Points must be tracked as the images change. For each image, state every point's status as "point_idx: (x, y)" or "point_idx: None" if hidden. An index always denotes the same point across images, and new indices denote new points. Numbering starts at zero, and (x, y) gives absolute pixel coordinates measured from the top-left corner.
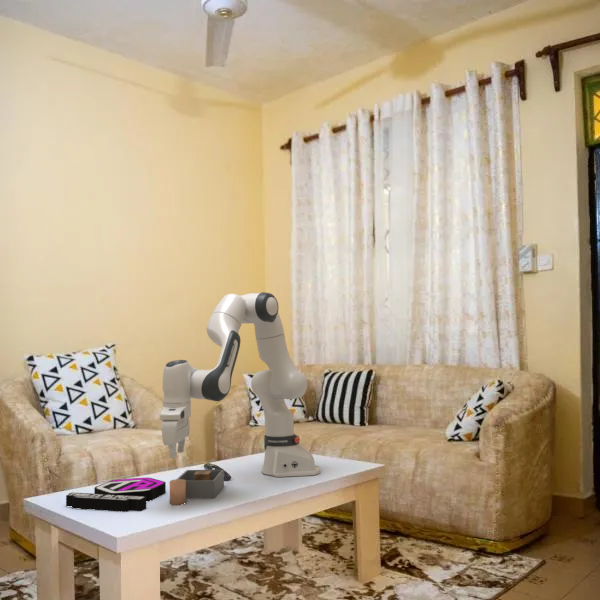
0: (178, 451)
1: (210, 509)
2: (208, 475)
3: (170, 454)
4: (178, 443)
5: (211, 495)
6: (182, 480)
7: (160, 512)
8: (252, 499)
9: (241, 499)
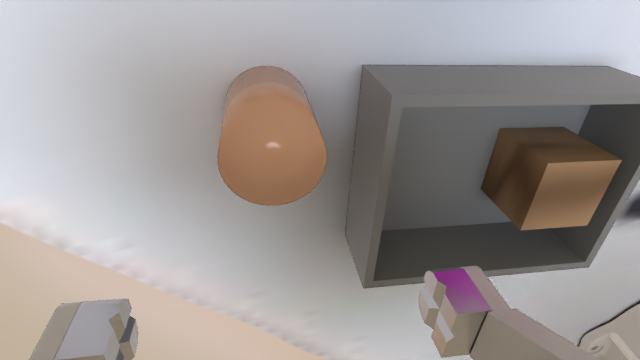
0: (432, 282)
1: (172, 259)
2: (520, 225)
3: (41, 345)
4: (534, 345)
5: (348, 232)
6: (284, 186)
7: (69, 62)
8: (317, 337)
9: (320, 312)
